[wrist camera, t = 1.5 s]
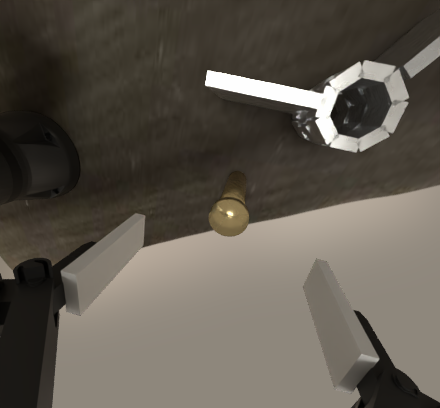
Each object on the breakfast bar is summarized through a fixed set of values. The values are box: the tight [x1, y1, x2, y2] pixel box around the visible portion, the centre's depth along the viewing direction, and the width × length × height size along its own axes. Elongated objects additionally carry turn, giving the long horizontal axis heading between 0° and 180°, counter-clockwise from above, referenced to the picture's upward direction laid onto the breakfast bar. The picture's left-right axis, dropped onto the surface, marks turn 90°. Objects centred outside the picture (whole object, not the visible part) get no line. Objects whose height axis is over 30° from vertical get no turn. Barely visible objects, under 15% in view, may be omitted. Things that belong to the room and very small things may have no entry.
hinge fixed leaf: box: [205, 60, 409, 152], centre depth 24 cm, size 18×7×12 cm, turn 78°
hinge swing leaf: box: [297, 9, 440, 146], centre depth 21 cm, size 18×7×12 cm, turn 134°
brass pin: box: [209, 171, 249, 236], centre depth 27 cm, size 4×4×15 cm
